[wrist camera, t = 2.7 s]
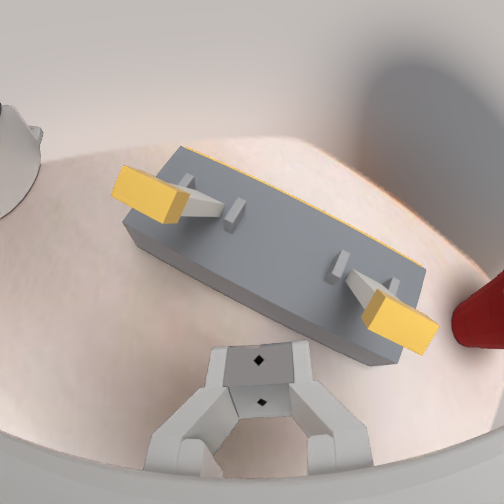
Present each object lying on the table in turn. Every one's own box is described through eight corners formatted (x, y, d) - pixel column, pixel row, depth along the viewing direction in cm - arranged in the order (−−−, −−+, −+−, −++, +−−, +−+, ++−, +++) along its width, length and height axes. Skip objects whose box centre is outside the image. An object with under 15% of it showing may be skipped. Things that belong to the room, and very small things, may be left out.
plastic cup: (488, 370, 31) (556, 359, 20) (432, 360, 31) (504, 347, 20) (494, 294, 35) (554, 267, 24) (441, 275, 35) (503, 238, 24)
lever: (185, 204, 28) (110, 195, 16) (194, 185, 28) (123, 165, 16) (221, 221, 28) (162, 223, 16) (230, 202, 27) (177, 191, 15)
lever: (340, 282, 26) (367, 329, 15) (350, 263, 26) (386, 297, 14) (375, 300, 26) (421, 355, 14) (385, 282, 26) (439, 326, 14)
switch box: (137, 246, 33) (115, 210, 26) (186, 176, 37) (180, 129, 29) (369, 366, 31) (410, 362, 23) (399, 283, 34) (438, 259, 27)
